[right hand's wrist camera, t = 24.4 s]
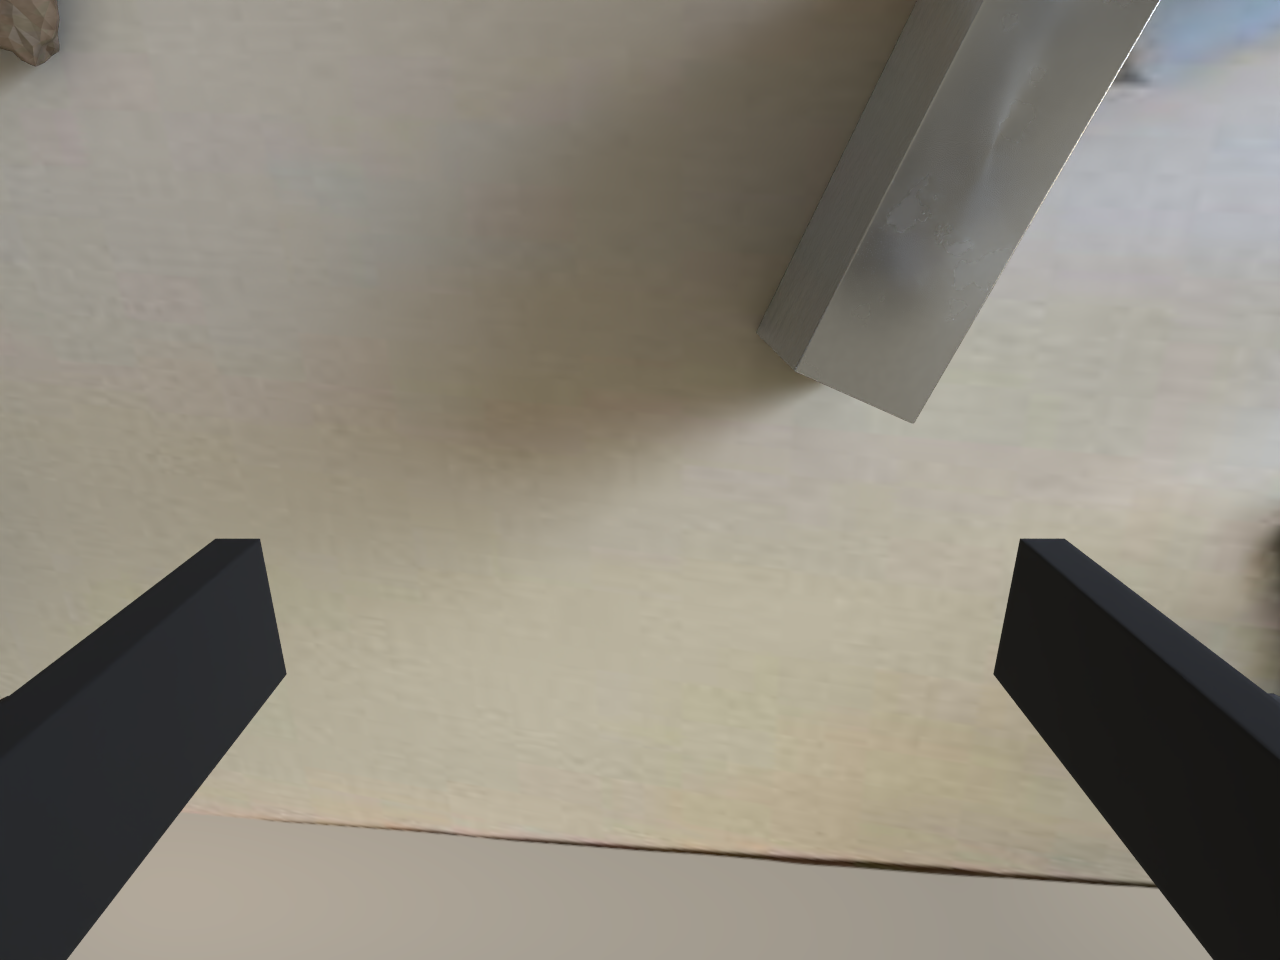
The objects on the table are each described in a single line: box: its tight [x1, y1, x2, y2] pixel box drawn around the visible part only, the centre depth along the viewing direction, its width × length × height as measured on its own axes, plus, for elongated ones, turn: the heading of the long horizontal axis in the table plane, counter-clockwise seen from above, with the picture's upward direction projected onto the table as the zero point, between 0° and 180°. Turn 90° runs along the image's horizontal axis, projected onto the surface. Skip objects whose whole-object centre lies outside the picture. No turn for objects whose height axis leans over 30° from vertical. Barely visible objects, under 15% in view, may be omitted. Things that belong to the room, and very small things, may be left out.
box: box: [757, 0, 1161, 423], centre depth 34 cm, size 22×6×11 cm, turn 157°
